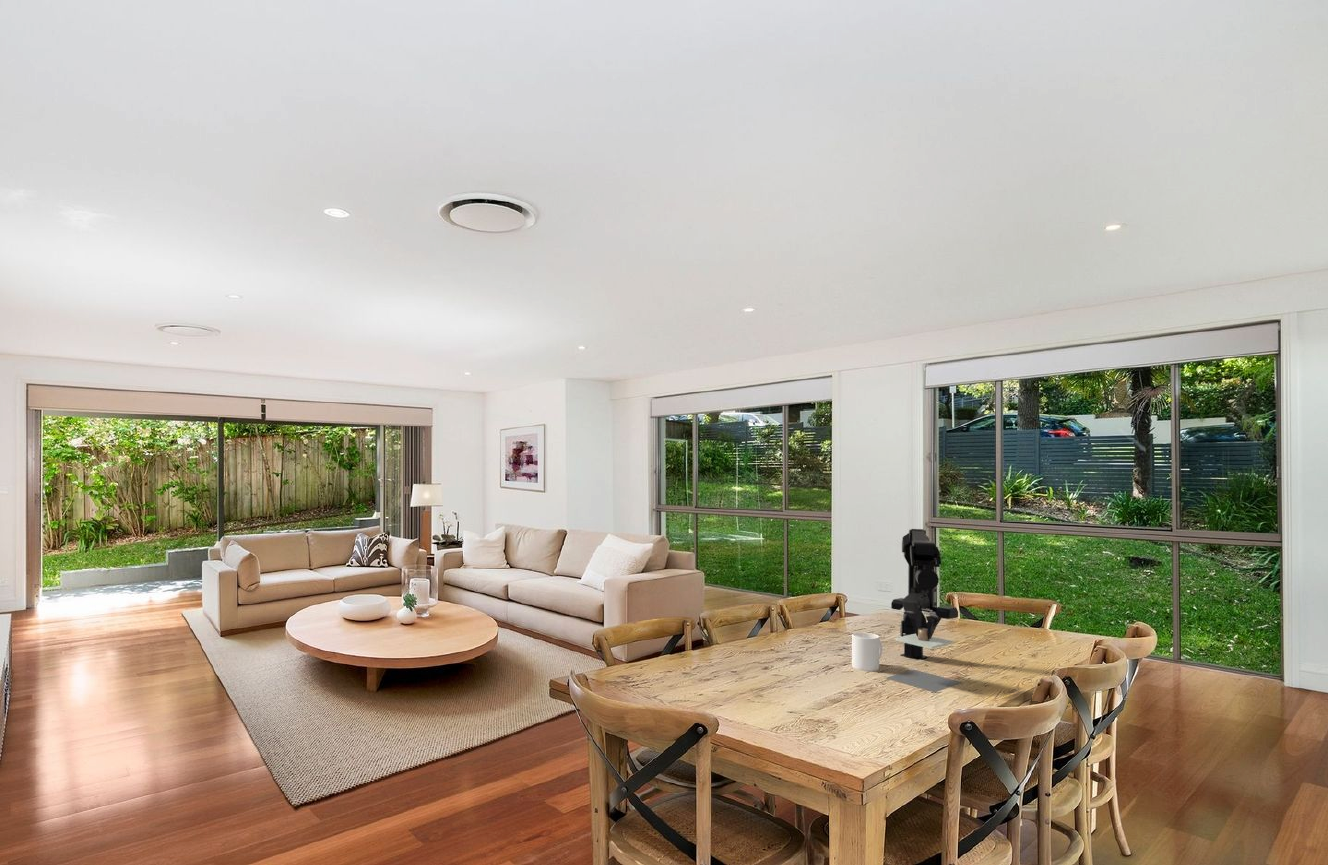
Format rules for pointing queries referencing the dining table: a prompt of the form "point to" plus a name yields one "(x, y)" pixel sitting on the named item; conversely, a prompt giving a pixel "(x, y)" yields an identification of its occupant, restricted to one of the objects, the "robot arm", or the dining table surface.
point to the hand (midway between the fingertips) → (923, 637)
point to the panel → (923, 640)
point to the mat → (924, 680)
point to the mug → (866, 651)
